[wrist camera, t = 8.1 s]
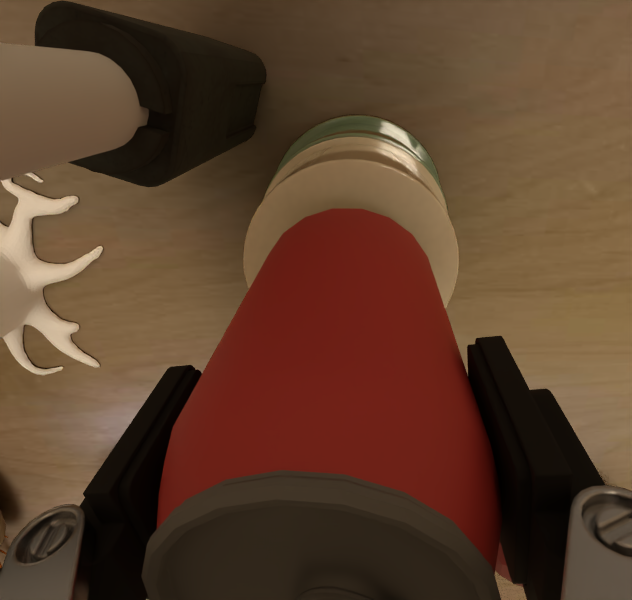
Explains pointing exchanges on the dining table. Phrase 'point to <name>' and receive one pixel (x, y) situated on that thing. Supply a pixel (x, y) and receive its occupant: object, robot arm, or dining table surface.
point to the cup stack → (358, 190)
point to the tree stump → (34, 279)
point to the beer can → (331, 437)
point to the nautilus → (2, 532)
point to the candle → (122, 97)
